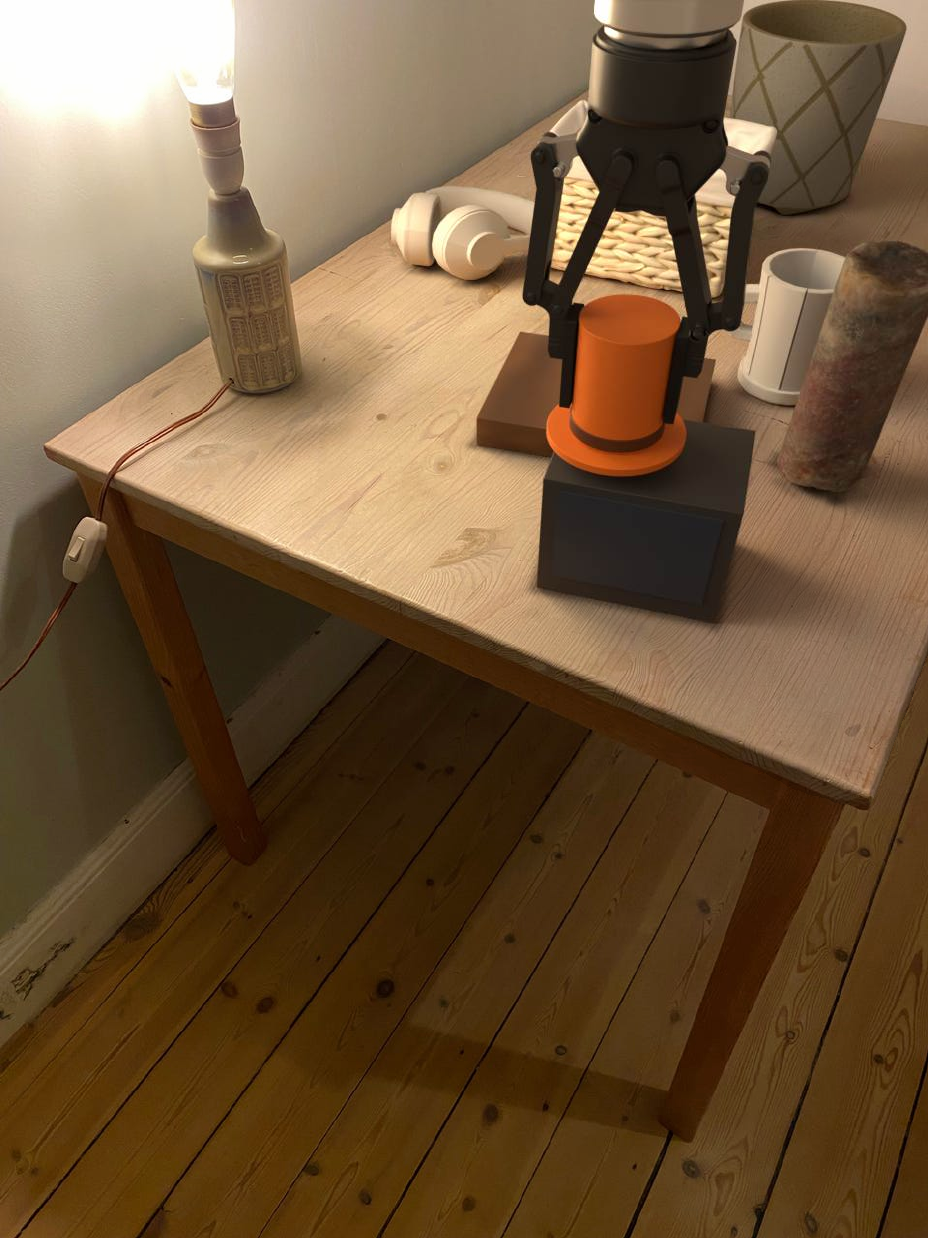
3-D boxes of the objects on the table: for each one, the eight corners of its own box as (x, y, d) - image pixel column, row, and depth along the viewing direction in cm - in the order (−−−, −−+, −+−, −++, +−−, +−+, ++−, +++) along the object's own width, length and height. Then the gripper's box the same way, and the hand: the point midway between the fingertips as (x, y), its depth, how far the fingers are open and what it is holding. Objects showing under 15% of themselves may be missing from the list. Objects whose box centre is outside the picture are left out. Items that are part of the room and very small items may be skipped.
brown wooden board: (710, 385, 92) (716, 359, 90) (689, 480, 82) (695, 453, 80) (519, 356, 96) (520, 331, 94) (476, 444, 86) (476, 417, 84)
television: (727, 539, 76) (755, 430, 68) (713, 625, 70) (743, 515, 62) (563, 509, 79) (573, 401, 71) (535, 589, 73) (542, 479, 65)
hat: (693, 406, 68) (715, 291, 62) (674, 487, 62) (697, 368, 55) (563, 387, 70) (571, 274, 64) (531, 463, 64) (536, 345, 57)
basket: (754, 248, 113) (783, 119, 102) (728, 310, 102) (757, 174, 92) (569, 219, 119) (577, 94, 108) (527, 274, 109) (532, 143, 98)
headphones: (489, 300, 103) (569, 255, 117) (495, 228, 98) (578, 190, 112) (359, 261, 110) (449, 223, 123) (358, 192, 105) (452, 160, 118)
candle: (868, 462, 83) (951, 248, 69) (856, 510, 79) (942, 291, 64) (784, 442, 85) (847, 230, 71) (767, 487, 81) (830, 271, 66)
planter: (683, 182, 126) (709, 15, 112) (780, 152, 133) (817, -10, 119) (786, 232, 115) (831, 54, 101) (886, 196, 123) (941, 24, 108)
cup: (746, 417, 88) (776, 301, 80) (705, 368, 94) (728, 255, 86) (843, 399, 90) (882, 284, 81) (796, 352, 96) (828, 240, 87)
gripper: (862, 18, 48) (764, 396, 65) (504, -2, 52) (499, 358, 69) (861, 61, 43) (756, 458, 60) (466, 35, 47) (471, 413, 64)
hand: (619, 404), depth 64 cm, fingers closed on hat, 7 cm apart
